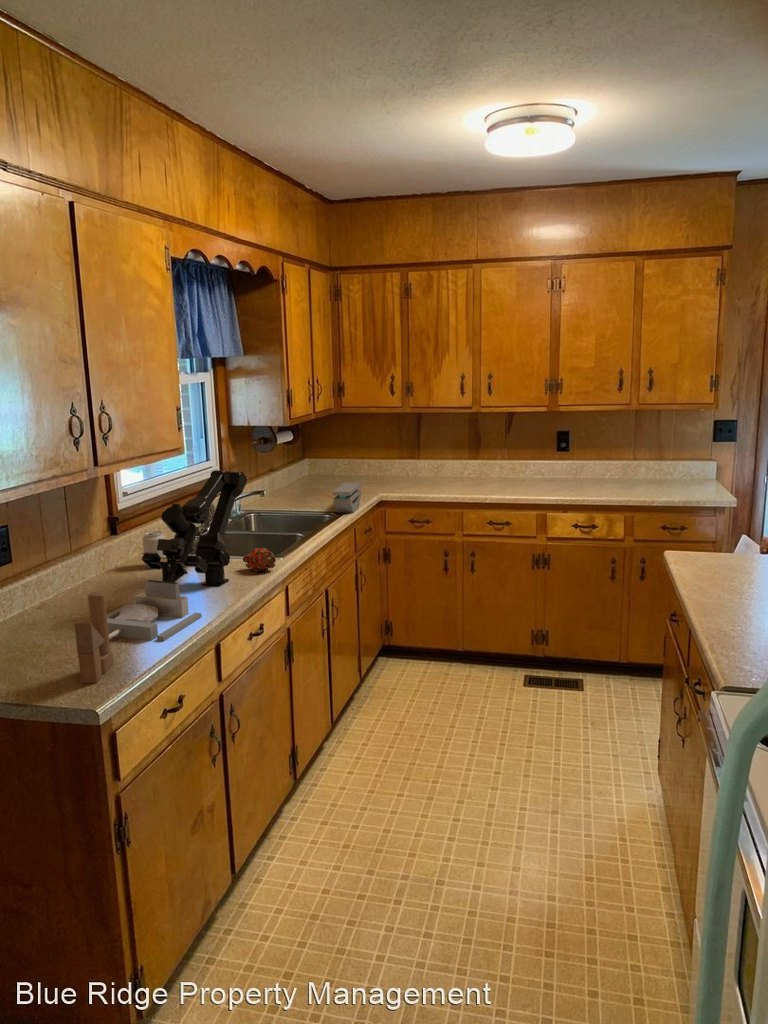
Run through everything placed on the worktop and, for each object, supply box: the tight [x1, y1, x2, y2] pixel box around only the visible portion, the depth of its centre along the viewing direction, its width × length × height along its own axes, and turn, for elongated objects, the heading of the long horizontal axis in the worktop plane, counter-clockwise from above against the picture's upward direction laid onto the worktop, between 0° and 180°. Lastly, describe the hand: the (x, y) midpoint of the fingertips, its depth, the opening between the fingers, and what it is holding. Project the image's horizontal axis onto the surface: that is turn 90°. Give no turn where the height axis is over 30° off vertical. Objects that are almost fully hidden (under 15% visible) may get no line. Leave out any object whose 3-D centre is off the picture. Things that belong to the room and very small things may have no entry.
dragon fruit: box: [242, 547, 277, 573], centre depth 248 cm, size 8×8×12 cm
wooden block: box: [73, 591, 114, 684], centre depth 168 cm, size 4×11×18 cm, turn 0°
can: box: [142, 530, 167, 569], centre depth 255 cm, size 8×8×12 cm
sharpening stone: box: [332, 481, 362, 514], centre depth 342 cm, size 25×8×11 cm, turn 170°
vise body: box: [107, 605, 203, 642], centre depth 195 cm, size 29×25×4 cm
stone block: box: [115, 603, 159, 623], centre depth 201 cm, size 12×5×10 cm
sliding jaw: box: [134, 579, 190, 618], centre depth 208 cm, size 3×15×9 cm, turn 72°
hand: (164, 588), depth 209 cm, fingers closed, pressing on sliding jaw
